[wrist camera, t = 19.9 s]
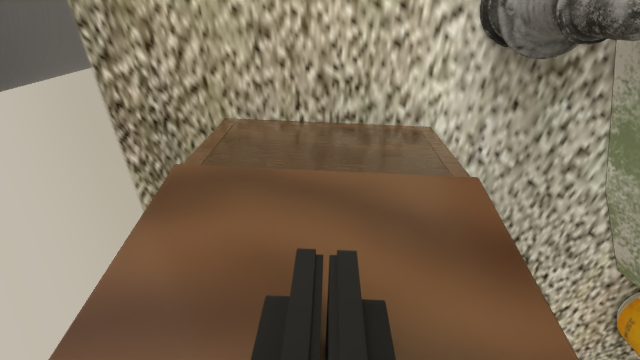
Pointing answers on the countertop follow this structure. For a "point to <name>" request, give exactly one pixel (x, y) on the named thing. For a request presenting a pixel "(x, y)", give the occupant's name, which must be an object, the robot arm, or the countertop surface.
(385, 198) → the chest lid
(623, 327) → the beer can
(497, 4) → the grey chess piece
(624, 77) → the grocery bag
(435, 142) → the chest
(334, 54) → the countertop surface
